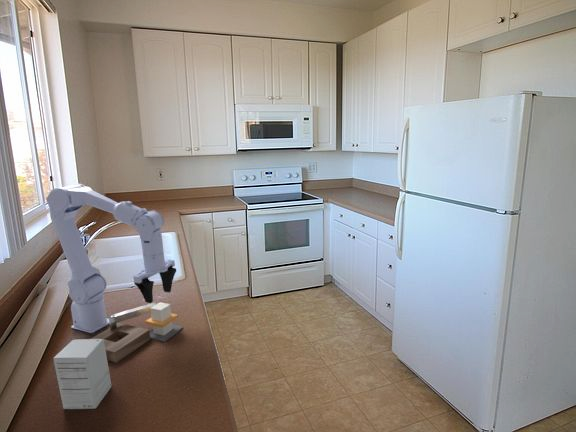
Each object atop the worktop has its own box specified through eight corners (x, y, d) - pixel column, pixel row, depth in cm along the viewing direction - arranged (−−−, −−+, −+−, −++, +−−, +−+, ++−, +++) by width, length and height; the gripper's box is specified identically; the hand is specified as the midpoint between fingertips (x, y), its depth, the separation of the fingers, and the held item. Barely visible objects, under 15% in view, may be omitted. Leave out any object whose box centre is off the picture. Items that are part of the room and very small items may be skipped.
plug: (147, 334, 107) (143, 309, 106) (162, 324, 113) (159, 300, 111) (164, 338, 105) (161, 312, 103) (179, 327, 110) (176, 303, 109)
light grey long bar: (111, 329, 106) (109, 318, 105) (109, 326, 107) (107, 315, 106) (157, 314, 113) (156, 304, 113) (155, 312, 115) (154, 302, 114)
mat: (143, 336, 107) (143, 335, 107) (162, 323, 114) (162, 322, 114) (164, 342, 104) (164, 340, 104) (183, 328, 111) (182, 326, 111)
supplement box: (81, 387, 86) (73, 338, 83) (112, 386, 86) (105, 337, 83) (61, 410, 79) (51, 357, 76) (95, 409, 78) (86, 357, 76)
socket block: (84, 353, 100) (82, 343, 99) (120, 331, 110) (118, 322, 110) (116, 362, 95) (114, 352, 94) (150, 339, 106) (149, 329, 105)
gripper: (144, 262, 98) (150, 309, 101) (180, 247, 111) (185, 289, 114) (125, 260, 101) (131, 305, 104) (162, 245, 114) (167, 286, 117)
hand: (158, 296), depth 109 cm, fingers open, 7 cm apart
